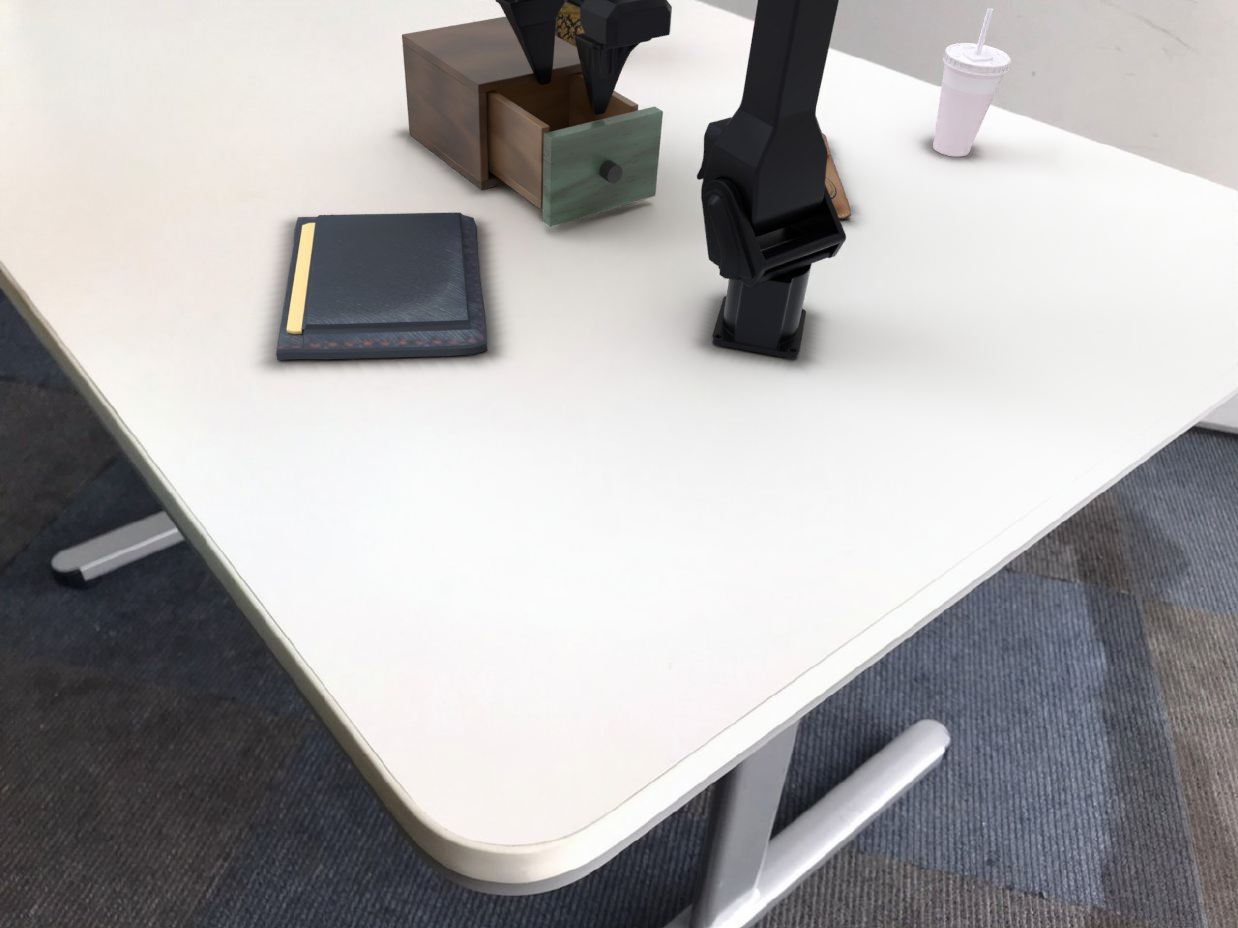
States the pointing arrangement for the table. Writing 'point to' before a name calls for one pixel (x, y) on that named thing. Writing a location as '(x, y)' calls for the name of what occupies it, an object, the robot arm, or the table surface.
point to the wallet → (383, 288)
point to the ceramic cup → (568, 23)
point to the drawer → (572, 148)
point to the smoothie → (967, 92)
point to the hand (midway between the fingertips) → (570, 98)
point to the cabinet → (466, 87)
